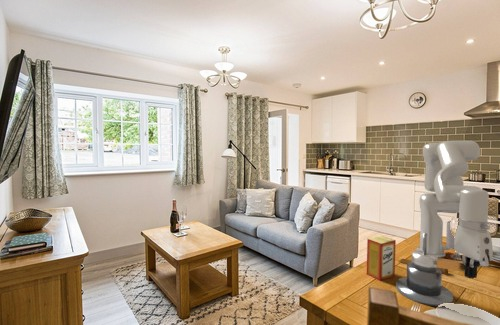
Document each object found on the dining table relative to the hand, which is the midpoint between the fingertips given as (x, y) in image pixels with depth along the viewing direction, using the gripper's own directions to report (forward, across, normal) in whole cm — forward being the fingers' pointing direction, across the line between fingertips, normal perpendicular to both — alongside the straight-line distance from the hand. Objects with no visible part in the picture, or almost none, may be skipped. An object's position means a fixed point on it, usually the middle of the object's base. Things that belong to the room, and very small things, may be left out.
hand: (470, 276), depth 91 cm
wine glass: (+10, +48, -47) cm, 68 cm away
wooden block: (0, +7, +5) cm, 9 cm away
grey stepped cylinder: (+10, +10, +9) cm, 17 cm away
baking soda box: (+10, +25, +16) cm, 32 cm away
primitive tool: (+11, +30, -8) cm, 32 cm away
